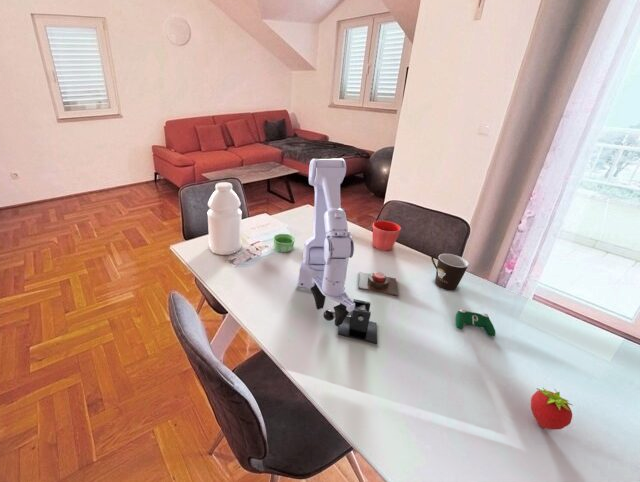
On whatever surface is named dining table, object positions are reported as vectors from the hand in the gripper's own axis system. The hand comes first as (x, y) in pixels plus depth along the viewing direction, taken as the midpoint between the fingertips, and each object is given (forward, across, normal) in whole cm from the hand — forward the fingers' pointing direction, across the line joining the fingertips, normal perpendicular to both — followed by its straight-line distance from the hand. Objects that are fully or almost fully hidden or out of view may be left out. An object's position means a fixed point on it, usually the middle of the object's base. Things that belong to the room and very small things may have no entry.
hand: (328, 316), depth 90 cm
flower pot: (+3, +24, -54) cm, 59 cm away
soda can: (+3, +44, -46) cm, 63 cm away
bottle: (+3, +56, +6) cm, 56 cm away
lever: (-1, -4, -3) cm, 5 cm away
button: (0, +6, -28) cm, 29 cm away
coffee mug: (+3, -4, -50) cm, 50 cm away
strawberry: (+3, -43, -18) cm, 47 cm away
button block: (+3, +6, -28) cm, 29 cm away
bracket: (+3, -6, -5) cm, 9 cm away
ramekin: (+3, +43, -15) cm, 46 cm away
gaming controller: (+3, -21, -36) cm, 41 cm away
